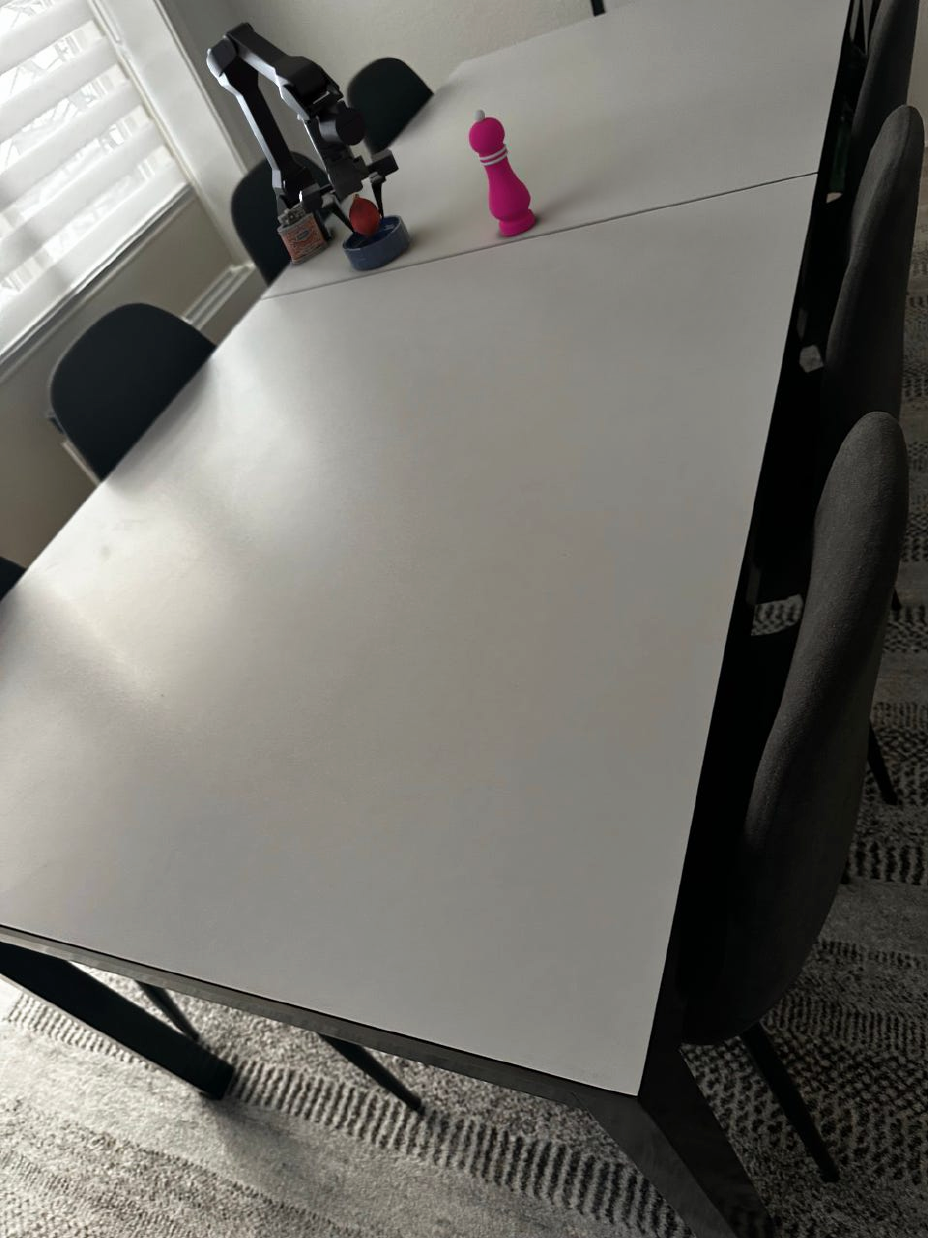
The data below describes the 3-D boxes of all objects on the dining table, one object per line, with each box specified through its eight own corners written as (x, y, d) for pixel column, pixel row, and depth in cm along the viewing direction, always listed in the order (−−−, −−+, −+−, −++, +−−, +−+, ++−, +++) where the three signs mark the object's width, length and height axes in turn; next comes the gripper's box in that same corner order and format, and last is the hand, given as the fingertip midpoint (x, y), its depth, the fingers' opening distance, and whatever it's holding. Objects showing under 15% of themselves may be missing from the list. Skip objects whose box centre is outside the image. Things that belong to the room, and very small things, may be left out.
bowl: (350, 256, 184) (340, 235, 181) (407, 229, 182) (398, 207, 179) (355, 279, 174) (345, 257, 171) (415, 251, 173) (405, 228, 170)
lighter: (296, 265, 192) (275, 221, 184) (290, 260, 194) (269, 216, 187) (329, 246, 193) (309, 201, 185) (323, 241, 195) (302, 196, 188)
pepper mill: (543, 212, 163) (504, 94, 150) (530, 233, 158) (489, 114, 145) (506, 220, 166) (466, 106, 153) (493, 241, 162) (450, 125, 149)
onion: (383, 237, 173) (365, 196, 167) (356, 247, 175) (337, 206, 170) (389, 223, 177) (371, 183, 171) (363, 233, 179) (344, 193, 173)
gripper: (284, 178, 159) (326, 261, 170) (382, 130, 157) (419, 217, 167) (283, 161, 168) (323, 241, 178) (376, 114, 165) (411, 198, 176)
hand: (368, 225), depth 174 cm, fingers closed on onion, 6 cm apart
